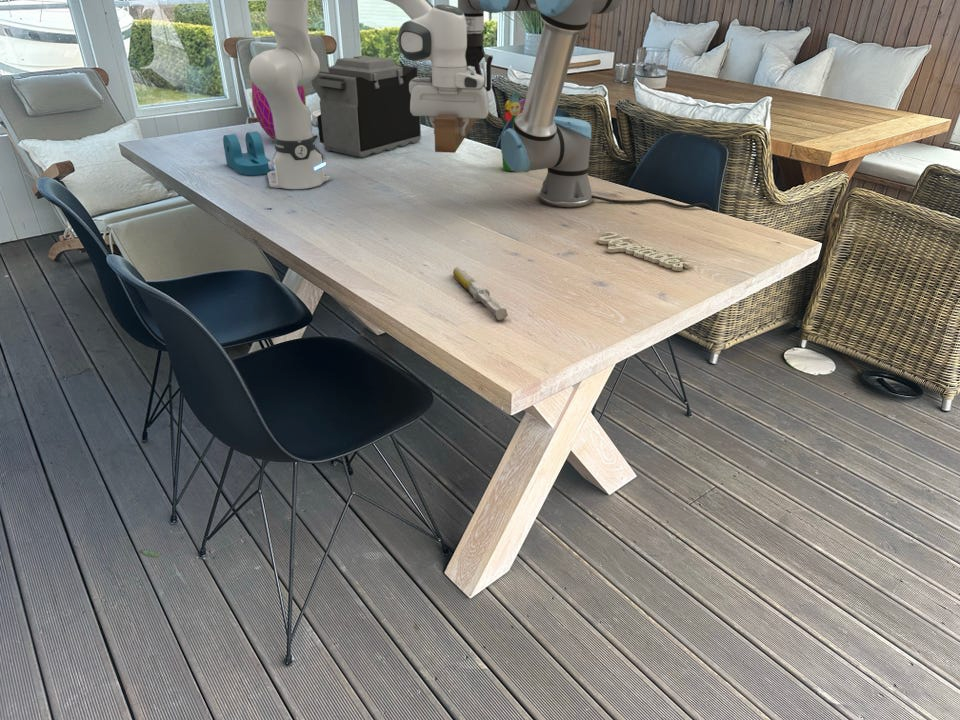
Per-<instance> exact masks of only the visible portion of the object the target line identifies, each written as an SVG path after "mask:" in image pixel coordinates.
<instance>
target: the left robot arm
mask: <svg viewBox="0 0 960 720" xmlns="http://www.w3.org/2000/svg"><path fill="white" fill-rule="evenodd" d="M384 1H385V2H388V3H391V4H393V5H395V6H397V7H399V8H400V9H401V10H402V11H403V12H404V13H405V14H406V15H407V16H408V17H409V18H410V19H409V20H407V21H405V22H404V23H402V24H401V26H400V27H399V30H398V33H397V44H398V48H399V51H400V53H401V54H402V55H403V57H404V58H405V59H406V60H408V61H410V62H412V61H413V62H424V61H430V63H431V76H429V77H428V76H425V77H422V76H421V77H419V76H418V77H415V78H414V79H412V80H411V81H410V82H409V92H410V94H411V100H410V112H411V114H412V115H413V116H420V117H429V119H428V121H429V123H430V125H431V126H432V128H433V135H435V127H434V118H435V117H436V116H437V115H438V114H445V115H458V118H463V122H465V124H464V126H463V127H460V128H459V135H460V136H465V128H466V126H467V124H468V122H469V118H477V119H481V120H483V119H487V117H488V116H489V114H490V100H489V94H488V91H487V90H486V89H485V88H484V87H483V85H484V86H485V82H486V81H485V80H486V79H485V77H484V76H483V75H482V76H481V75H479V74H476V72H473V71H471V70H468V67H467V62H466V58H465V53H466V49H467V28H466V20H465V16H464V13H463V11H462V10H460V9H459V8H458V6H454V5H449V4H436V5H433V3H431V2H430V1H429V0H384ZM265 2H266V3H265V6H266V7H265V10H266V11H265V13H266V14H265V20H266V24H267V25H268V27H269V28H270V29H271V30H272V31H273V34H274V37H275V42H276V48H273V49H266V50H263V51H262V52H260V53H258V54H257V55H255V56H254V57H253V58H252V59H251V60H250V62H249V66H248V72H249V77H250V80H251V82H252V81H253V83H254V84H255V86H256V87H257V88H259V89H260V90H261V91H262V92H263V94H264V95H265V97H266V99H267V101H268V104H269V106H270V109H271V112H272V117H273V123H274V130H275V136H276V137H275V139H274V141H273V143H274V150H275V152H274V154H273V156H272V160H270V161H268V167H269V169H271V171H270V172H268V173H266V174H267V180H268V185H269V188H273V189H274V188H275V189H278V188H279V189H286V190H305V189H311V188H316V187H319V186H321V185H322V184H324V183H325V182H327V181H328V182H329V181H330V176H329V175H327V174H325V171H324V167H325V166H326V164H327V163H326V162H323V155H322V153H321V152H320V151H319V149H318V148H317V147H316V146H317V145H316V138H319V135H317V134H316V135H314V134H313V122H312V113H311V110H310V108H309V106H307V105H305V104H303V102H302V100H301V98H300V96H299V93H298V87H299V86H302V85H303V86H306V85H308V84H309V83H312V80H313V79H315V78H316V77H317V76H318V74H319V71H321V63H320V59H319V57H318V54H317V53H316V51H314V50H313V47H312V43H311V40H310V39H311V38H310V33H309V26H308V23H309V22H308V21H309V15H308V14H309V0H266V1H265ZM414 81H415V82H414Z"/></svg>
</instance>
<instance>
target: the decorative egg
mask: <svg viewBox="0 0 960 720" xmlns="http://www.w3.org/2000/svg"><path fill="white" fill-rule="evenodd" d="M298 93H299V96H300V98H301V100H302V102H303V104H305V105H306V104H307V103H306V102H307V101H306V99H307V97H306V93H305V88H304V85H302V86H299V87H298ZM251 101H252V107H253V110H254V114H255V116H256V118H257V121H258V123H259V125H260V127H261V128H262V130H263V131H264V133H266V135H267V136H268V137H270V138H271V139H273V140H275V137H276V136H275V130H274V123H273V117H272V112H271V109H270V106H269V104H268V101H267V99H266V97H265V95H264V94H263V92H262V91H261V90H260V89H259V88H257V87H256V86H255V84H254V83H253V81H252V80H251ZM306 106H307V105H306Z"/></svg>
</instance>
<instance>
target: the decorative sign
mask: <svg viewBox="0 0 960 720" xmlns="http://www.w3.org/2000/svg"><path fill="white" fill-rule="evenodd" d="M598 244H601V245H607V253H611V254H612V253H613V254H614V253H625V254H627V255H633V256H634V257H636V258H638V259H644V260H645V261H648V262H651V263H653V264H658V265H659V266H662V267H665V268H667V269H671V270H673V271H676V272H681V271H683V268H684V269H689V266H690V263H689V262H688V261H683V258H684V257H683V256H682V255H674V254H673V252H658V251H657V249H656V248H654V247H653V246H646V245H644V244H642V245H641V246H640V245H636V244H634V243H631V237H629V236H622V237H619V233H618V232H617V233H616V232H614V231H613V232H612V231H605V235H604V236H600V237H599V238H598Z"/></svg>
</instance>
